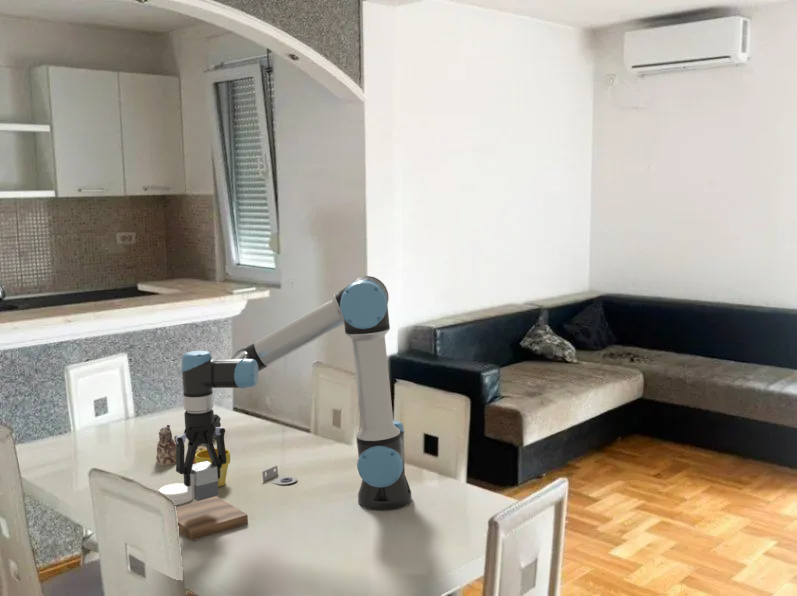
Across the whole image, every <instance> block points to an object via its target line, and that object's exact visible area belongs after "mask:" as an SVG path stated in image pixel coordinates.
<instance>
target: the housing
mask: <svg viewBox="0 0 797 596" xmlns="http://www.w3.org/2000/svg"><path fill="white" fill-rule="evenodd" d="M191 473H192V474H194V491H195V498H193V500H196V502H197V501H201V500H204V499H208V498H212V497H215V496H217V497H219V487H218V473H217V466H216V465H214V464H212V463H210V462H208V461H205V462H200V463H196V464H193V466H192V470H191Z"/></svg>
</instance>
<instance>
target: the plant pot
mask: <svg viewBox="0 0 797 596" xmlns="http://www.w3.org/2000/svg"><path fill="white" fill-rule="evenodd" d="M214 448H215V447H214ZM215 451H216V454H217V456H218V452H217V447H216V448H215ZM225 452H226V461H227V462H226V463H225V464H222V467H221V468H220V478H219V479H218V488H219V487H222V486H224V485H225V484H226V480H227V475H228V468H229V465H230V463H231V451H230V450H229V449H226V448H225ZM205 461H208V462H210V463H212V461H211V459H210V456H209V453H208V451H207V449H206V450H202V451H199V452H197V453H196V454H195V463H200V462H205Z"/></svg>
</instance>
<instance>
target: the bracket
mask: <svg viewBox="0 0 797 596" xmlns="http://www.w3.org/2000/svg"><path fill="white" fill-rule="evenodd" d="M278 471H279V470H278V465H274V466H272V467H269V468H267V469H265V470H263V471H262V473H261V474H262V481H263V482H266V481H268V480H270V479H273V478H274V477H277V476H279V472H278ZM297 481H298V477H293V476H286V475H281V476H280V477H277V478H275V479H273V480H272V481H269V482H268V483H269V484H274V485H279V486H284V485H286V486H287V485H291V484H294V483H296V482H297Z"/></svg>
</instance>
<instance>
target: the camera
mask: <svg viewBox="0 0 797 596" xmlns="http://www.w3.org/2000/svg"><path fill="white" fill-rule="evenodd" d="M221 425H222V424H221V417H220V416H219V415H218V414H216V413H214V426H215V427H222V426H221ZM214 440H216V434H215V432H214V434H213V436H212V441H214Z"/></svg>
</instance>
